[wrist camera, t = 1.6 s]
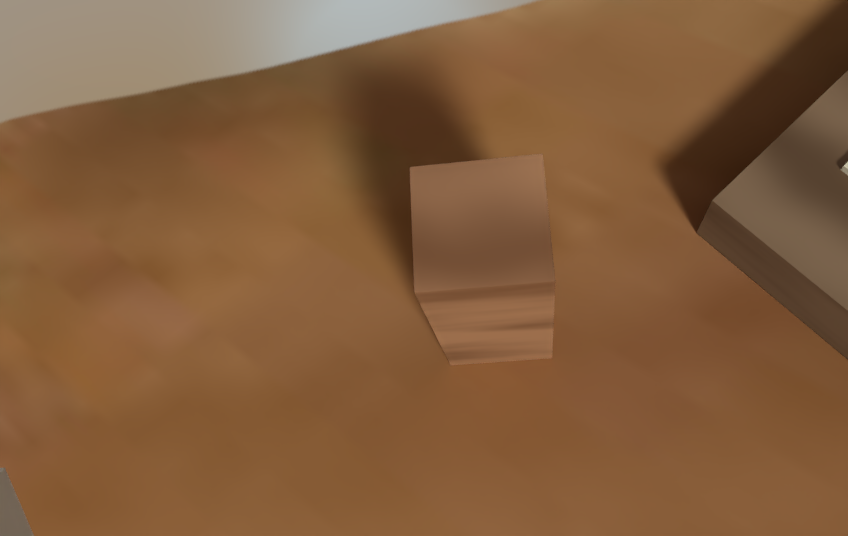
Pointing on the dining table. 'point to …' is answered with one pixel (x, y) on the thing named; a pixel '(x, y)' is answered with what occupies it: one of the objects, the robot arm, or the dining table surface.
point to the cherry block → (484, 258)
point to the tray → (795, 218)
